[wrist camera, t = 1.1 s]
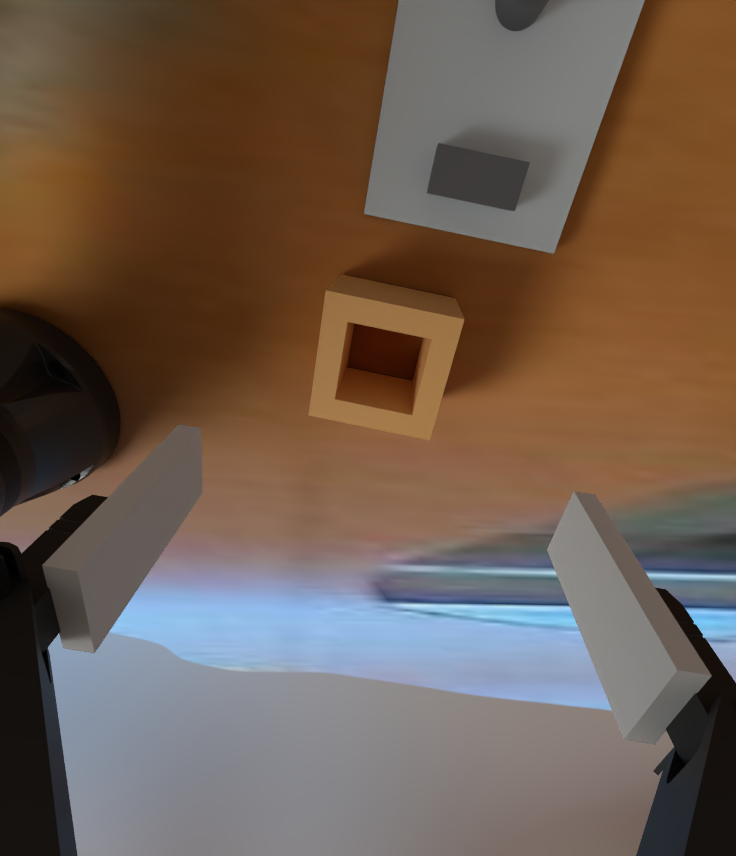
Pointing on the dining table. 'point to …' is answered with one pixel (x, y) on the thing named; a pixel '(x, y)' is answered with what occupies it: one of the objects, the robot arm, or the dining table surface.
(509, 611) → the dining table surface
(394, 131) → the keeper board
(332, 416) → the link
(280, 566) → the dining table surface
